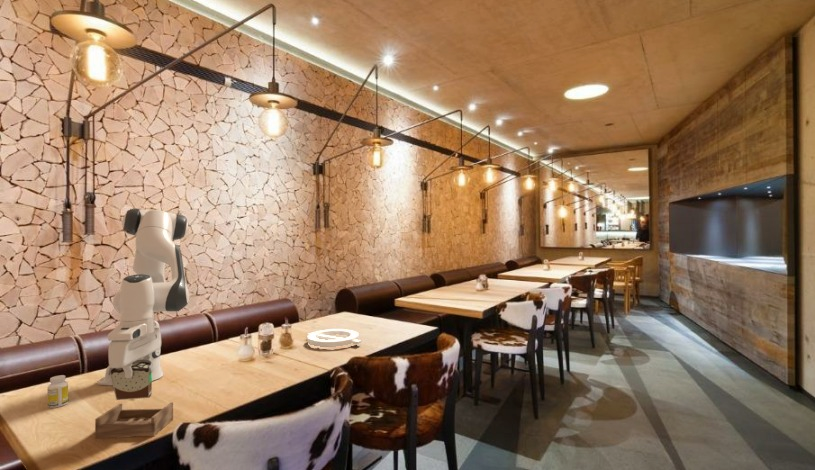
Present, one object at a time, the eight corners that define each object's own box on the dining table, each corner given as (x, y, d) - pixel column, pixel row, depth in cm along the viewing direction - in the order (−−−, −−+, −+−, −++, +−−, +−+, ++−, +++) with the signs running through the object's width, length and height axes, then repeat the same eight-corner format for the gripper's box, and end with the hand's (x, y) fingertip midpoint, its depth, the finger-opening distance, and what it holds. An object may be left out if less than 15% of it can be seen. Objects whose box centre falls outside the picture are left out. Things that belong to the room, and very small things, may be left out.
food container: (164, 387, 124) (161, 357, 123) (154, 397, 118) (151, 366, 117) (123, 390, 123) (120, 359, 122) (111, 400, 117) (107, 368, 116)
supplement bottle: (66, 400, 140) (66, 373, 140) (69, 404, 137) (69, 376, 137) (46, 405, 136) (46, 377, 136) (48, 409, 133) (49, 381, 133)
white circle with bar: (306, 339, 226) (306, 330, 226) (354, 335, 234) (354, 327, 234) (308, 352, 199) (308, 343, 199) (362, 348, 207) (362, 339, 207)
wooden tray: (154, 436, 115) (154, 417, 115) (95, 438, 114) (95, 418, 114) (173, 419, 125) (173, 402, 125) (119, 421, 124) (119, 403, 124)
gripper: (147, 320, 130) (147, 362, 130) (103, 336, 110) (103, 385, 110) (166, 320, 131) (166, 361, 130) (126, 336, 110) (127, 384, 110)
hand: (137, 372), depth 120 cm, fingers closed on food container, 6 cm apart
